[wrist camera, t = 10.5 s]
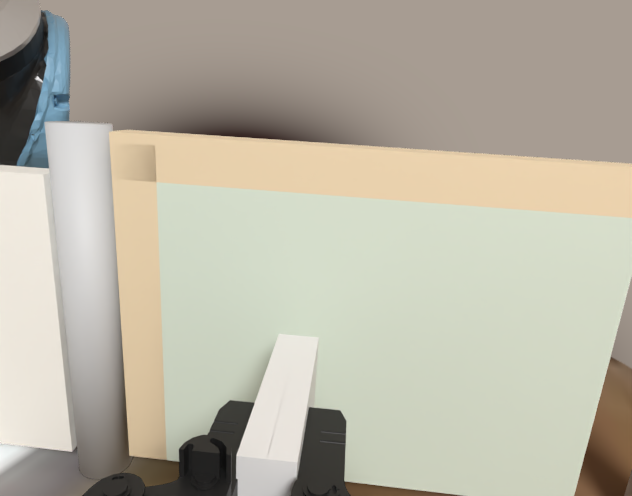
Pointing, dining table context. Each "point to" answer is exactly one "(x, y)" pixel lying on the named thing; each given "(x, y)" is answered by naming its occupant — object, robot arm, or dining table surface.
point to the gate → (375, 299)
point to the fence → (64, 304)
